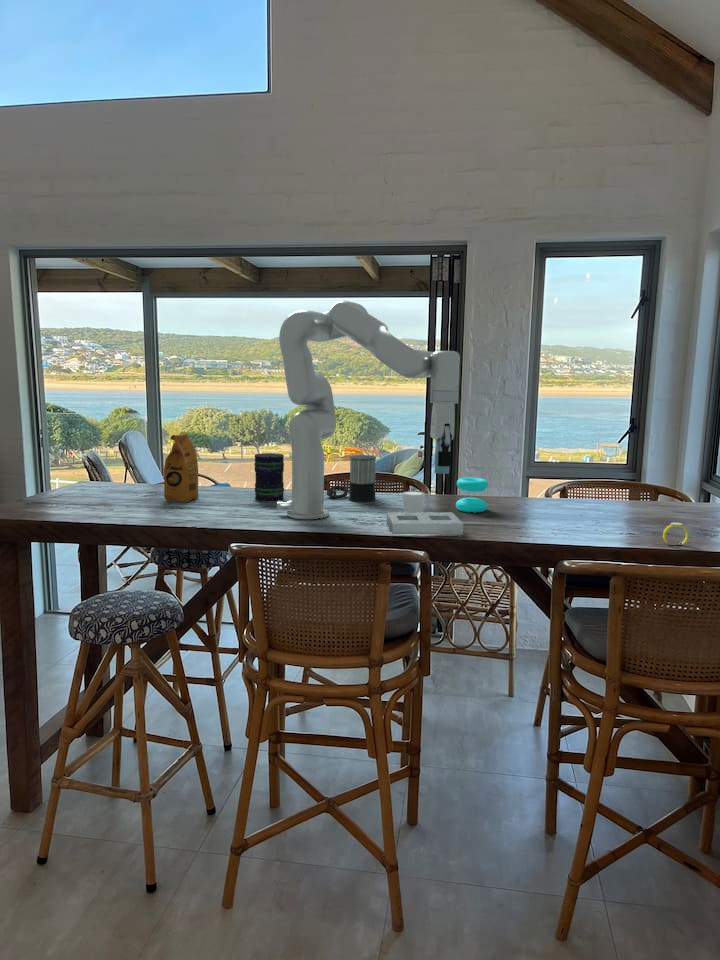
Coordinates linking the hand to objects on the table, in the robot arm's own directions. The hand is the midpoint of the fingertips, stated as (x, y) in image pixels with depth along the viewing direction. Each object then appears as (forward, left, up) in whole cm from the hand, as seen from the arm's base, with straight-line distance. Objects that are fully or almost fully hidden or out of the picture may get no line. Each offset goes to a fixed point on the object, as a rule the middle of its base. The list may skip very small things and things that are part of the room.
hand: (442, 464), depth 184 cm
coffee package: (-79, +44, -19) cm, 92 cm away
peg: (0, 0, -2) cm, 2 cm away
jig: (-5, 0, -18) cm, 19 cm away
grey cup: (-5, +19, -19) cm, 27 cm away
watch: (+58, -17, -19) cm, 64 cm away
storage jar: (-50, +45, -19) cm, 70 cm away
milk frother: (-22, +46, -19) cm, 54 cm away
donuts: (+15, +27, -19) cm, 36 cm away
